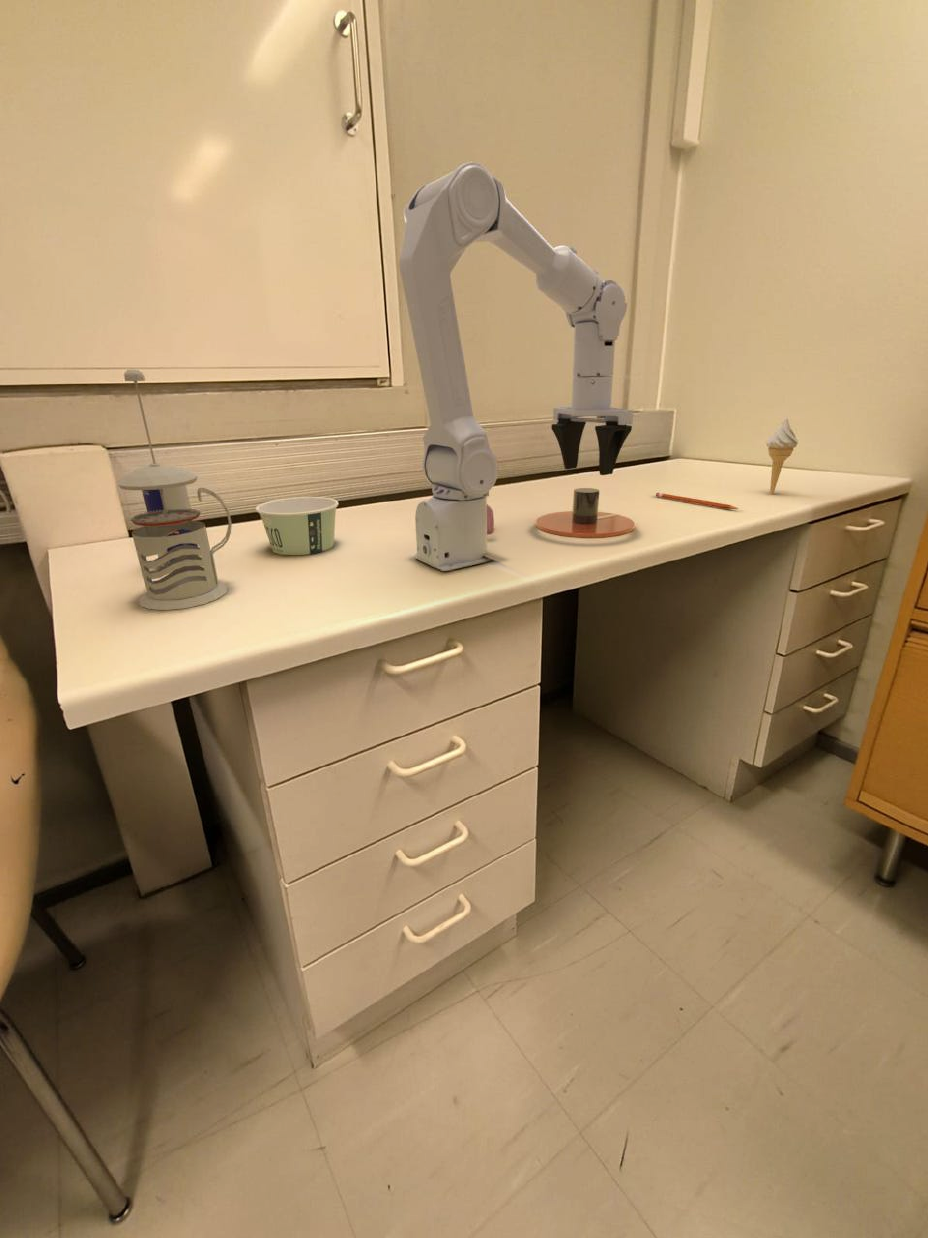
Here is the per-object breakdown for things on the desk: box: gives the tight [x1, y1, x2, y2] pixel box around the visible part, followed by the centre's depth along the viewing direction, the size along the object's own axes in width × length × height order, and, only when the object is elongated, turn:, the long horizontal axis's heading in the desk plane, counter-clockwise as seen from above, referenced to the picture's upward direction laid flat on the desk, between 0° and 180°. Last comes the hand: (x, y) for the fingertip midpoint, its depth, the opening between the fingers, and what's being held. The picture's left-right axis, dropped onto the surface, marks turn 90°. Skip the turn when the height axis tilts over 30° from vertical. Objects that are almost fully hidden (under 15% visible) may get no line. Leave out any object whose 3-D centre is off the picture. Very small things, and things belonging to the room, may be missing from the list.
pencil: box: [655, 492, 740, 510], centre depth 109 cm, size 1×18×1 cm, turn 36°
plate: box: [535, 487, 636, 539], centre depth 90 cm, size 16×16×6 cm
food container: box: [255, 496, 339, 556], centre depth 85 cm, size 12×12×7 cm
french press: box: [116, 368, 233, 611], centre depth 64 cm, size 10×12×25 cm
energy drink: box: [141, 485, 202, 567], centre depth 77 cm, size 5×5×12 cm
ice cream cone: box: [766, 417, 799, 495], centre depth 114 cm, size 6×6×15 cm
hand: (587, 471), depth 88 cm, fingers open, 7 cm apart
